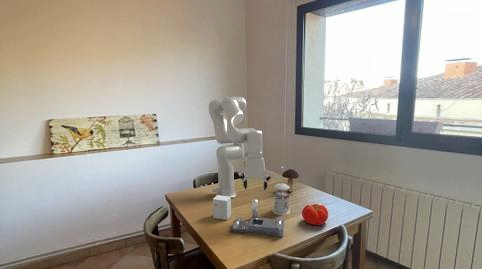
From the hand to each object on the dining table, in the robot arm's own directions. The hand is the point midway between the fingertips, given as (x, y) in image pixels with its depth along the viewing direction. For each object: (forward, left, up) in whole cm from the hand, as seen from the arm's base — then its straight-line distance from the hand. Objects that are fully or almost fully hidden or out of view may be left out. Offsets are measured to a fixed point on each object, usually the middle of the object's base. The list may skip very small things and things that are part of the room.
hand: (255, 188), depth 135 cm
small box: (-17, -1, -17) cm, 24 cm away
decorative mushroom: (+17, +40, -17) cm, 47 cm away
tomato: (+30, +1, -17) cm, 34 cm away
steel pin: (0, 0, -16) cm, 16 cm away
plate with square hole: (+3, -11, -16) cm, 20 cm away
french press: (+13, +12, -17) cm, 24 cm away
